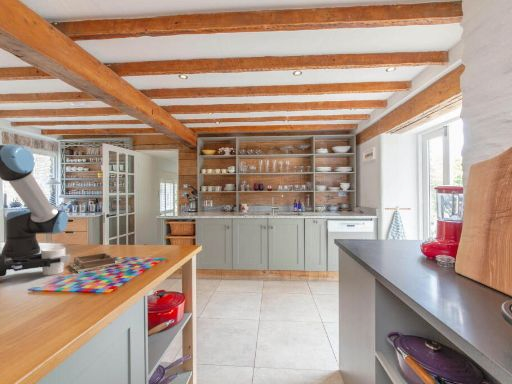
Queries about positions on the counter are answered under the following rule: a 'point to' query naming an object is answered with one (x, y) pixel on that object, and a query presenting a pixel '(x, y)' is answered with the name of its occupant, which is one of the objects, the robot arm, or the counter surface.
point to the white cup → (53, 253)
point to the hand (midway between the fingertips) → (67, 256)
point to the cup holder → (93, 262)
